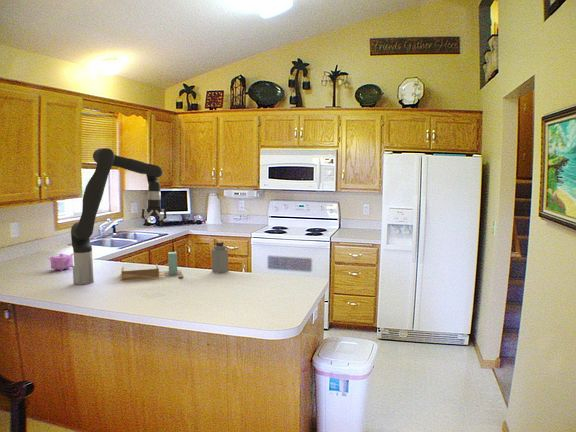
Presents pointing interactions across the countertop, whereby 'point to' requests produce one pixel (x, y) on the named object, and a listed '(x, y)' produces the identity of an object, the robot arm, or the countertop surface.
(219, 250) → the perfume bottle
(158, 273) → the stand
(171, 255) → the block
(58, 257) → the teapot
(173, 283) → the countertop surface
